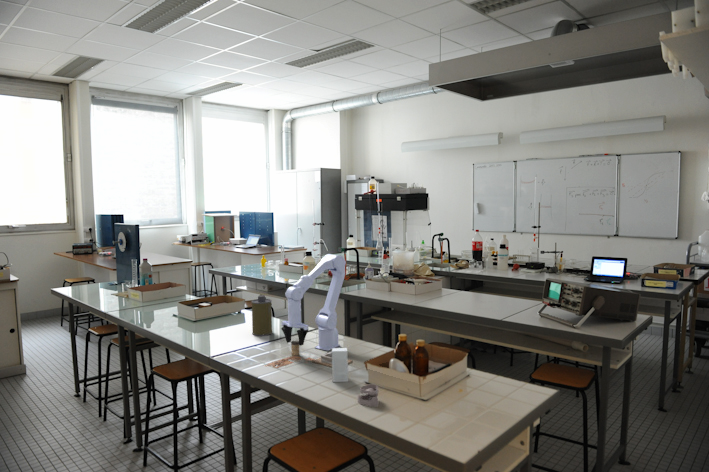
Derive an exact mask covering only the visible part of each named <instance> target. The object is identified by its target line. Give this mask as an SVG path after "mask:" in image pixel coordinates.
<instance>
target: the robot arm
mask: <svg viewBox="0 0 709 472" xmlns="http://www.w3.org/2000/svg"><path fill="white" fill-rule="evenodd" d="M346 264H347V261H346V259H345V258H344V256H343V255H338V254H332V253H327V254H325V255H324V256H323V257H322V258H321V259H320V261H319V263H318V264H317V265H316V266H315V267H314V268H313V269H312V270H311V271H310V272H309V274H304V275H301V276H300V279H298V280H297V281H296V282H295V283H293V285H292V286H289V287H288V288H287V289H286V291H285V293H284V296H285V297H286V299H287V313H288V314H287V319H288V320H282V321H281V326H282V327H281V328H280V329H281V331H282V332H283V334H284V337H285V340H286V343H287V344H288V343H291V342H292V333H293V328H294V329H297V330H296V334H297V336H298V341H299V347H300V346H303V345H304V344H305V339H306V337H307V334H308V332H309V325H308V324H305V323H303V322H302V299H303V298H304V295H305V293H306V291H308V290H309V289H310V288H311V287H312V286H313V285H314V281H315V280H316V279H317V277H319V276H320V275H321V274H322V273H324V272H325V271H327V270H329V271H330V273H331V275H332V278H331V281H330V285H329V288H328V291H327V294H326V299H325V302H324V305H323V307H322V308H320V309H319V312H318V314H317V315H316V317H315V324H316V326H317V329H318V345H317V346H315V347H314V349H318V350H322V351H330V350H331V351H332V348H339V347H340V346H341V345H340V344H339V331H338V329H337V328H336V326H337V323H338V321H337V318H338V314H337V311H336V308H337V303H338V300H339V297H340V294H341V291H342V287H343V283H344V281H345V280H344V279H345V276H346Z"/></svg>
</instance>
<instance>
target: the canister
mask: <svg viewBox="0 0 709 472" xmlns="http://www.w3.org/2000/svg"><path fill="white" fill-rule="evenodd" d="M251 317H252V318H251V320H252V336H257V337H259V336H260V337H265V336H269V335H272V334H273V320H272V318H273V316H272V299H270V298H267V297H266V295H265V294H264V295H258V296H257V298H256V299H252V300H251Z"/></svg>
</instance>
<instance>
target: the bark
mask: <svg viewBox="0 0 709 472" xmlns="http://www.w3.org/2000/svg"><path fill="white" fill-rule="evenodd" d="M302 360H303V361H306V362H304V364H307V363H308V362H312V361H314V360H316V358H315V359H314V358H311V357H307V358H303V359H302V357H301V356H292V355H290V356H287V357H284V358H281V359H278V360H275V361H272V362H269V363H267V365H262V367H263V366H264V367H272V368H273V369H279V368H282V367H284V366H285V367H286V366H289V365H292V364H294V361H296V362H300V361H302Z"/></svg>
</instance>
